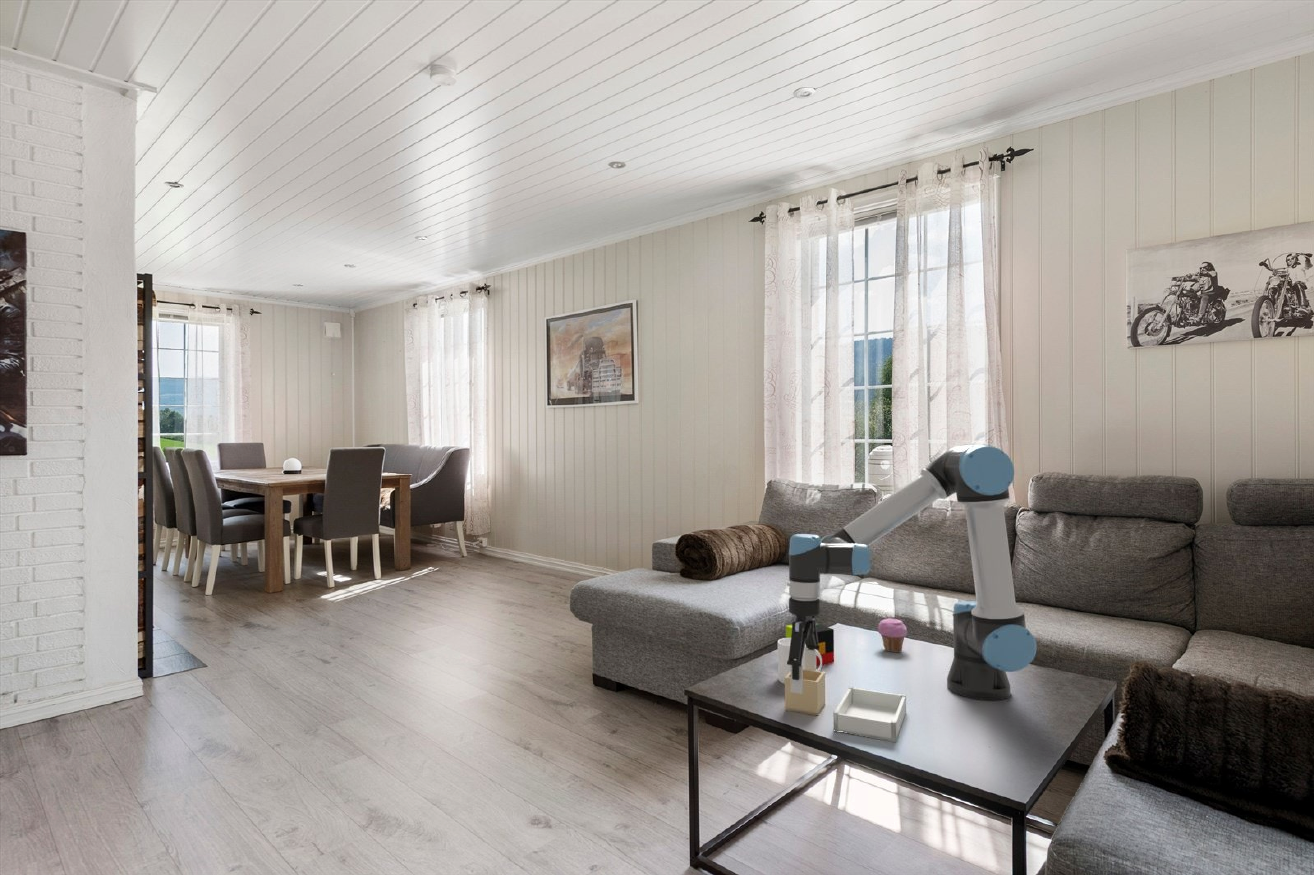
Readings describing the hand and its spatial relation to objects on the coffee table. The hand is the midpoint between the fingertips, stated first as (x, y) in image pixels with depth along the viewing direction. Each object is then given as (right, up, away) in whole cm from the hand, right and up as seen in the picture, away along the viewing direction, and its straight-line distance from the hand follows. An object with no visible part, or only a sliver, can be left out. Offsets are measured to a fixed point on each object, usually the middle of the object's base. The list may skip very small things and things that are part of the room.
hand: (803, 683), depth 170 cm
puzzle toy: (+10, -7, +37) cm, 38 cm away
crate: (+14, -6, -9) cm, 17 cm away
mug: (+3, -6, +19) cm, 20 cm away
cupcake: (+38, -6, +46) cm, 60 cm away
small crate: (0, -6, 0) cm, 6 cm away
